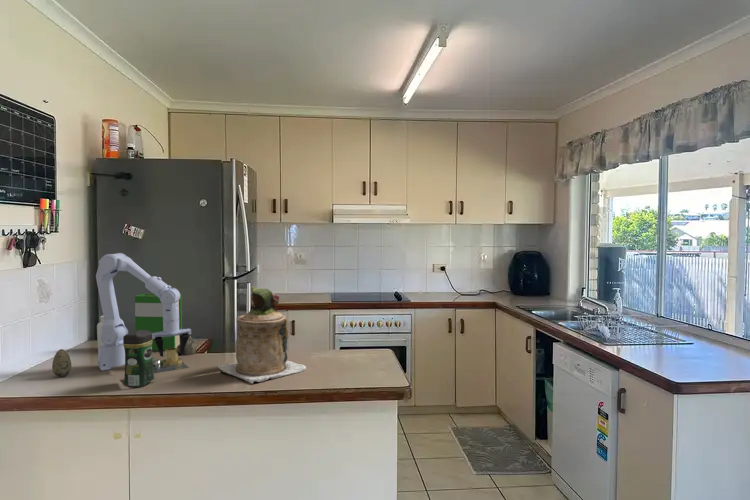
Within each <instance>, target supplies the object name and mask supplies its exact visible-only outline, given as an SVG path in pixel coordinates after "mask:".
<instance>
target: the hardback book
mask: <svg viewBox="0 0 750 500" xmlns="http://www.w3.org/2000/svg"><path fill="white" fill-rule="evenodd" d="M177 302H178V307H179V329H183V312H182V310H183V309H182V293H180V299H179V301H177ZM134 313H135V315H134V316H135V318H134V321H135V323H134V324H135V331H138V330H150V332H151V333H156V332H161V331H163V304H162V303H161V301H160V298H159V297H157V296H156V295H155V294H153V293H142V294H137V295H134ZM161 338H162V340H163V352H165V349H168V348H177V346H178V345H179V344H180V336H179V335H177V336H169V337H161ZM154 351H156V352H157V351H158V352H159V349H158V347H157V344H156V343H155V341H154V339H153V342H152V352H154Z"/></svg>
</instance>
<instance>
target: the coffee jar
mask: <svg viewBox="0 0 750 500" xmlns="http://www.w3.org/2000/svg"><path fill="white" fill-rule="evenodd" d="M152 342H153V338H152V333H151V332H150V330H138V331H136V330H134V331H133V332H128V334H126V335H125V336H124V337H123V346H124V349H125V364H124V385H125V386H127V387H128V388H139V387H145V386H147V385H148V384H150V383H152V382H151V381H153V380H155V373H154V370H153V360H152V358H153V351H152Z"/></svg>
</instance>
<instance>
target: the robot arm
mask: <svg viewBox="0 0 750 500" xmlns="http://www.w3.org/2000/svg"><path fill="white" fill-rule="evenodd" d="M121 271H122V272H128V273H129V274H131V275H132V276H134V277H135V278H137V279H138V280H139V281H141V282H143V283H144V286H145V289H147V290H148V291H149V292H151V294H155V295H156V296H157V297H159V298H160V301H161V303H162V304H163V331H161V332H156V333H152V338H153V339H154V341H155V343H156V344H157V347H158V349H159V351H158V353H159V357H164V351H163V340H162V338H161V337H169V336H177V335H179V336H180V353H182V354H183V353H184V349H185V345H186V343H187V340H188V339H189V337H190V335H192V329H191V328H182V329H179V307H178V302H177V301H179V299H180V294H181V292H180V291H179V290H178V289H177V288H176V287H172V286H171V285H170V284H169V285H168V284H167V283H166V282H164V281H163V280H162V277H160V276H158V277H157V276H155V275H154V276H151V275H150V274H149V273H148V272H146V271H145V270H144V269H143V268H142V267H141V266H139V265H138V264H137V263H136V262H134V260H133V259H132V258H131V257H129V256H127V255H126V254H124V253H123V252H117V253H106V254H104V255H103V256H101V257H100V259H99V260H98V267H97V271H96V273H95V280H96V285H97V289H98V296H99V300H100V305H101V310H102V316H103V317H104V323H103V325H102V327H101V328H102V334H101V340H102V342H103V343H104V345H103V346H99V347H98V346H97V359H98V360H97V363H98V365H97V366H98V368H99V370H100V371H110V370H113V368H114V367H120V366H123V365H124V366H125V349H124V346H123V337H124V336H125V335H126V334H129V329H128V328H127V327H126V326H125V322H124V320H123V319H122V318H121V317H120V311H119V306H118V301H117V297H116V291H115V287H114V281H113V278H114V277H115V276H116V275H117V273H118V272H121Z"/></svg>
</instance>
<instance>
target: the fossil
mask: <svg viewBox="0 0 750 500" xmlns="http://www.w3.org/2000/svg"><path fill="white" fill-rule="evenodd" d="M177 349H178V355H181V356H194V355H196V352H197V344H196V342H195V340H194V339H193V337H192V336H191V335H189V339H188V340H187V343H186V345H185V349H184V353H183V354H182V353H180V344H179V345H178V346H177Z"/></svg>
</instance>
